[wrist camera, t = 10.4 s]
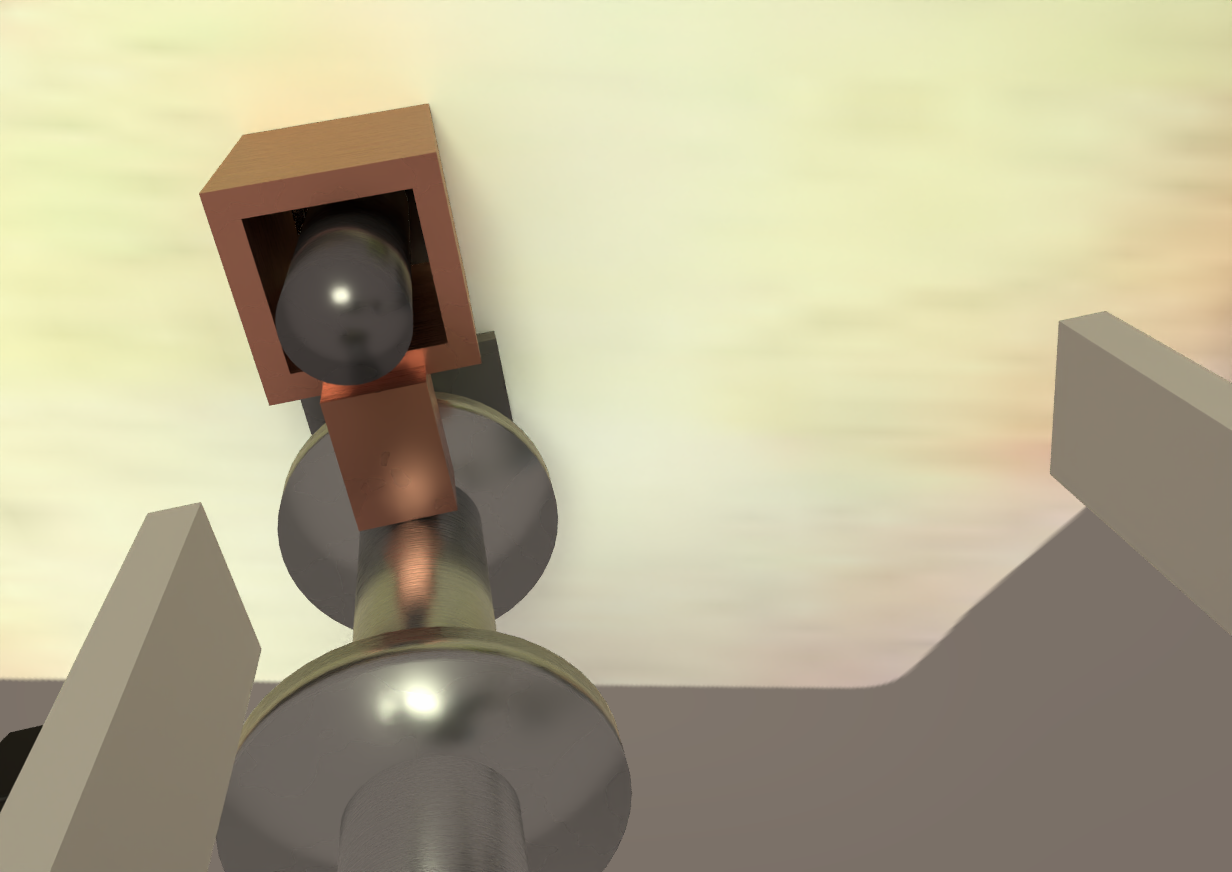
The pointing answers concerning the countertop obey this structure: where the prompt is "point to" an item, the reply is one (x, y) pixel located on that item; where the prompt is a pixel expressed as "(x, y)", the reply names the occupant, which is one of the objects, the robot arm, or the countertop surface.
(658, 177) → the countertop surface
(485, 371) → the post with bracket
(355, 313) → the dark grey cylinder
